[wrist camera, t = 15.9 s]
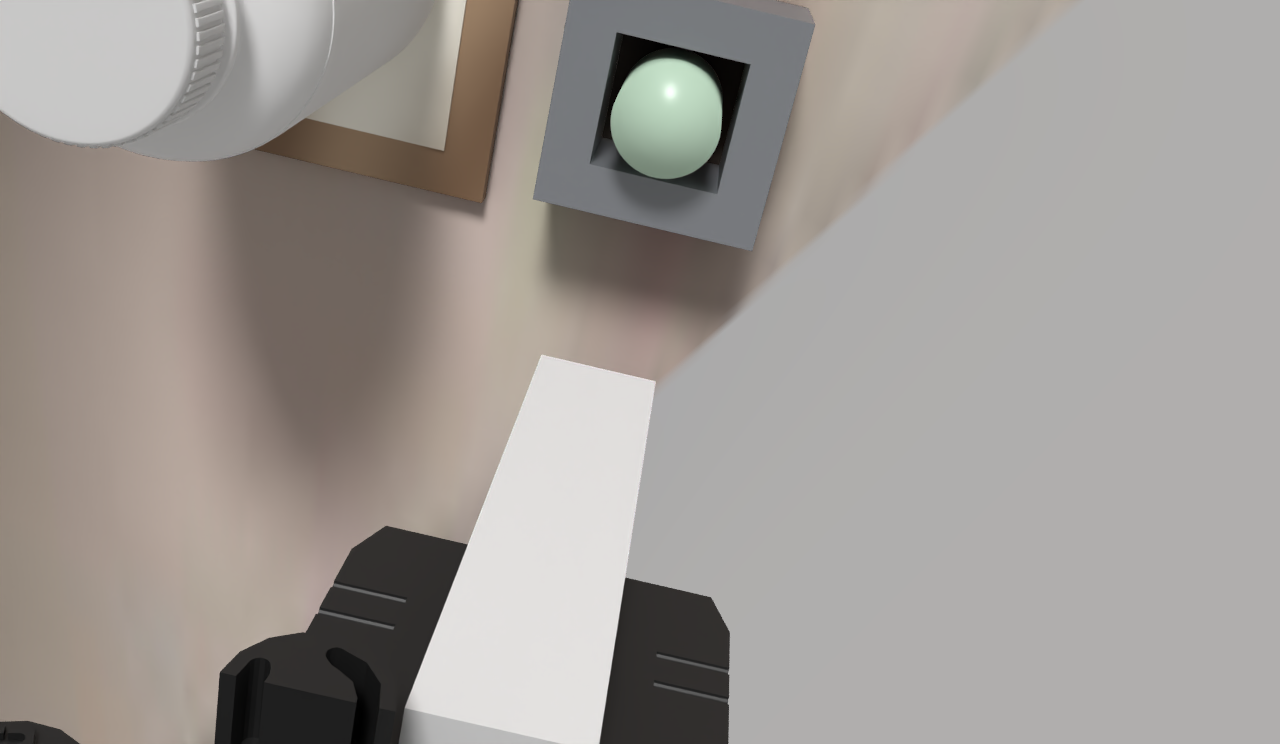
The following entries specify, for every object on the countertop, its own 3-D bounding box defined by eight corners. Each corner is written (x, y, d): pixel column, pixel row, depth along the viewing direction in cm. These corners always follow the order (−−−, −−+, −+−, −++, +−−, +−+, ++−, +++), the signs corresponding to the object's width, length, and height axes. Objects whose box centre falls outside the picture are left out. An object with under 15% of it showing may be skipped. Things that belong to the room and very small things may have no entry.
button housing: (549, 169, 38) (532, 199, 35) (590, -45, 35) (576, -34, 32) (751, 217, 39) (752, 251, 35) (808, 8, 36) (815, 24, 32)
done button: (612, 136, 37) (600, 164, 33) (633, 37, 35) (622, 55, 32) (709, 160, 37) (706, 190, 33) (734, 61, 35) (733, 82, 32)
